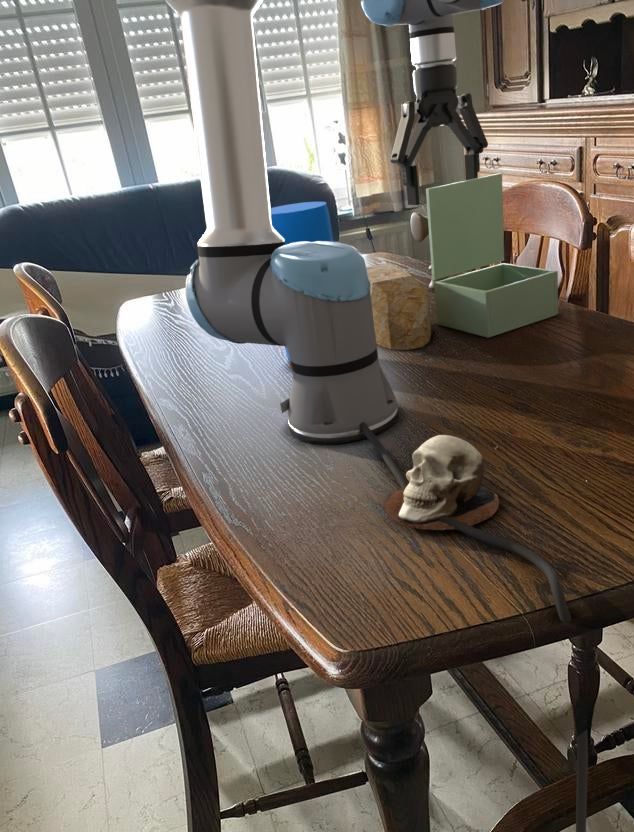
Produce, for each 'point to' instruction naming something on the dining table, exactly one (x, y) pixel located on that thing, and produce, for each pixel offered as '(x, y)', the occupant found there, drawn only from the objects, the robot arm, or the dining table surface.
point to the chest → (496, 299)
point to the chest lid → (465, 225)
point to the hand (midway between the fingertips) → (443, 198)
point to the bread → (398, 308)
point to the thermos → (302, 225)
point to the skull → (443, 487)
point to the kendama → (422, 235)
